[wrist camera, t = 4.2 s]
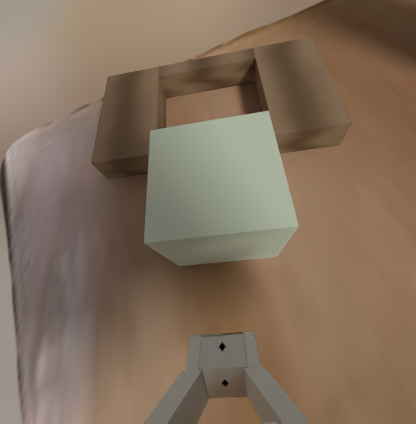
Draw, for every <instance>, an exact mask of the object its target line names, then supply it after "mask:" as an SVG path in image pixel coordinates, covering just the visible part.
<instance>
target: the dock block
mask: <svg viewBox="0 0 416 424" xmlns="http://www.w3.org/2000/svg"><path fill="white" fill-rule="evenodd" d="M252 82H254V83H255V87H256V91H257V96H258V100H259V104H260V108H261V112H264V111H269V113H270V117H271V121H272V125H273V129H274V133H275V137H276V140H277V144H278V148H279V152H280V153H287V152H294V151H301V150H308V149H315V148H322V147H328V146H335V145H339V144H340V142H341V141H342V139H343V137H344V136H345V134H346V132H347V131H348V129H349V127H350V126H351V124H352V122H351V119H350V117H349V115H348V113H347V111H346V109H345V107H344V104H343V102H342V100H341V98H340V96H339V94H338V91H337V89H336V87H335V85H334V83H333V81H332V79H331V76H330V74H329V72H328V70H327V68H326V66H325V63H324V61H323V59H322V57H321V55H320V53H319V51H318V48H317V46H316V44H315V42H314V40H313V38H312V37H308V38H303V39H297V40H292V41H287V42H282V43H277V44H272V45H267V46H262V47H257V48H252V49H247V50H242V51H237V52H231V53H226V54H221V55H216V56H211V57H206V58H201V59H196V60H191V61H186V62H181V63H176V64H171V65H165V66H160V67H156V68H150V69H145V70H140V71H135V72H130V73H125V74H120V75H115V76H110V77H108V79H107V85H106V90H105V95H104V100H103V105H102V111H101V116H100V121H99V126H98V132H97V137H96V142H95V147H94V153H93V158H92V164H93V165H94V166H95V167H96V168H97V169H98V170H99V171H100V172H101V173H102V174H103V175H104V176H105V177H107V178H115V177H122V176H129V175H135V174H142V173H148V161H149V144H150V130H156V129H162V128H166V98H169V97H174V96H180V95H185V94H191V93H196V92H202V91H207V90H213V89H219V88H224V87H230V86H235V85H241V84H246V83H252Z"/></svg>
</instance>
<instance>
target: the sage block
mask: <svg viewBox="0 0 416 424" xmlns="http://www.w3.org/2000/svg"><path fill="white" fill-rule="evenodd" d="M297 228H298V222H297V218H296V214H295V210H294V206H293V203H292V199H291V195H290V191H289V187H288V183H287V179H286V175H285V172H284V168H283V164H282V160H281V156H280V152H279V148H278V144H277V140H276V137H275V133H274V129H273V125H272V121H271V117H270V113H269V111H264V112H258V113H252V114H246V115H240V116H234V117H228V118H222V119H216V120H210V121H204V122H198V123H192V124H186V125H180V126H174V127H168V128H162V129H156V130H150V144H149V161H148V179H147V196H146V214H145V231H144V244H146V245H147V246H149V247H150V248H152V249H153V250H155V251H156V252H158V253H159V254H161V255H162V256H164V257H166V258H167V259H169V260H170V261H172V262H173V263H175V264H176V265H178V266H186V265H196V264H207V263H217V262H227V261H238V260H248V259H258V258H269V257H278V255H279V254H280V252H281V251H282V250H283V248H284V247H285V245H286V244H287V242H288V241H289V239H290V238H291V237H292V235H293V234H294V232H295V231H296V229H297Z"/></svg>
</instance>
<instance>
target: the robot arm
mask: <svg viewBox="0 0 416 424" xmlns="http://www.w3.org/2000/svg"><path fill="white" fill-rule="evenodd" d="M244 343H245V344H244ZM222 397H248V400H249V401H250V403H251V405H252V407H253V408H254V410H255V412H256V413H257V415H258V417H259V418H260V420H261V422H262V423H263V424H309V422H308V419H307V418H306V417H305V416H304V415H303V413H302V412H301V411H300V410H299V409H298V407H297V406H296V405H295V404H294V402H293V401H292V400H291V399H290V398H289V396H288V395H287V394H286V393H285V392H284V390H283V389H282V388H281V387H280V385H279V384H278V383H277V382H276V381H275V379H274V378H273V377H272V376H271V375H270V373H269V372H268V371H267V370H266V368H265V367H261V365H260V360H259V354H258V348H257V343H256V337H255V333H254V331H252V332H234V333H222V334H204V335H191V338H190V344H189V351H188V358H187V365H186V370H185V371H182V372H181V374H180V375H179V376H178V378H177V379H176V380H175V382H174V383H173V384H172V386H171V387H170V389H169V390H168V391H167V393H166V394H165V395H164V397H163V398H162V399H161V401H160V402H159V403H158V405H157V406H156V408H155V409H154V410H153V412H152V413H151V414H150V416H149V417H148V418H147V420H146V421H145V423H144V424H197V422H198V420H199V418H200V416H201V414H202V412H203V410H204V408H205V406H206V404H207V402H208V398H222Z"/></svg>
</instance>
